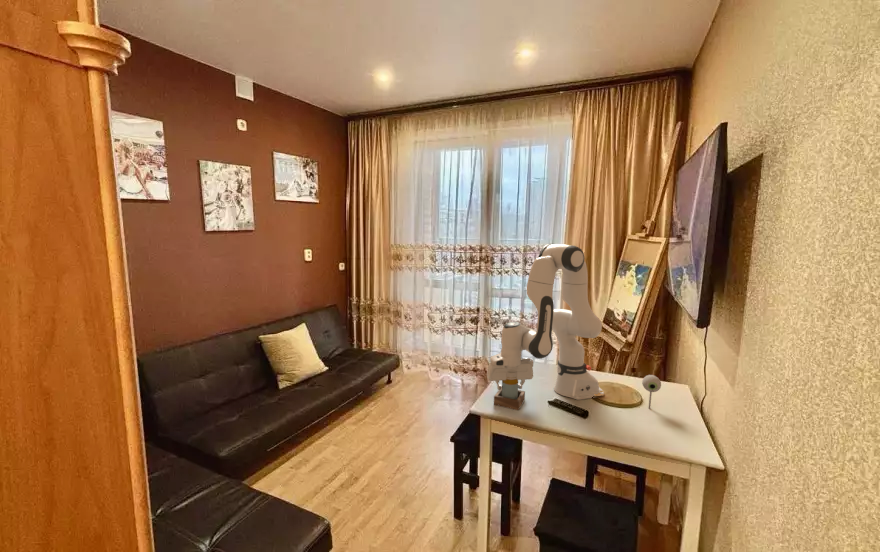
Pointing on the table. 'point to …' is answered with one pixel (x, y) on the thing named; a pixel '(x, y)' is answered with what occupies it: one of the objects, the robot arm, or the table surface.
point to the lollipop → (651, 385)
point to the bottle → (510, 386)
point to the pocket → (509, 400)
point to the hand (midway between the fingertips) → (509, 388)
